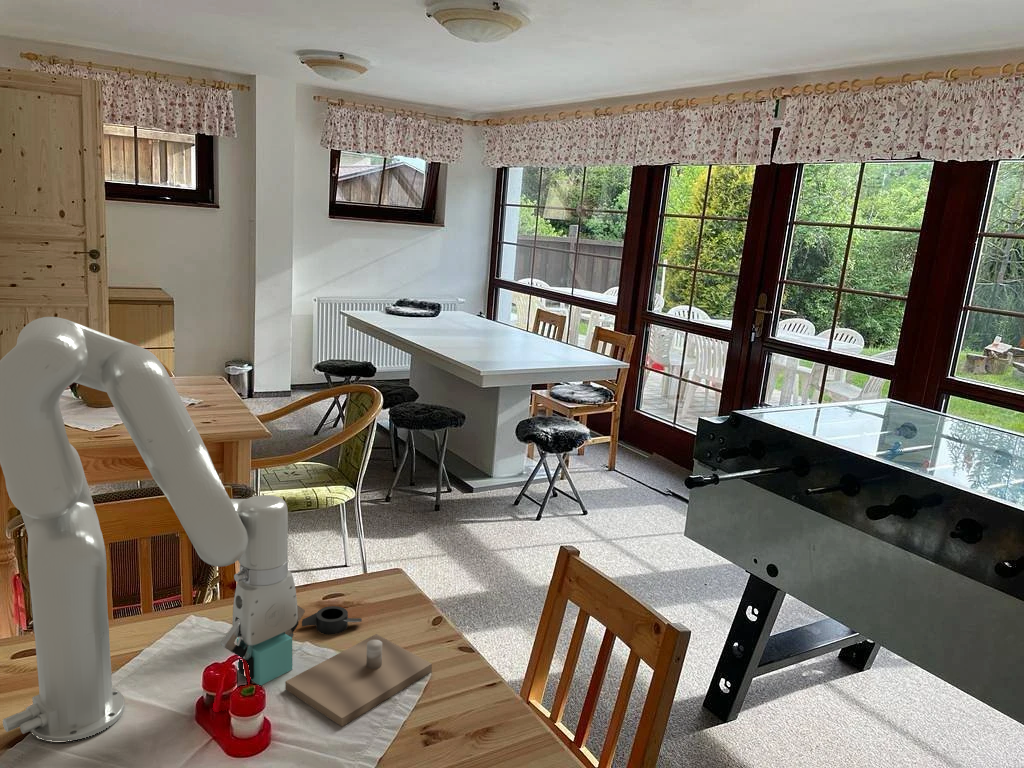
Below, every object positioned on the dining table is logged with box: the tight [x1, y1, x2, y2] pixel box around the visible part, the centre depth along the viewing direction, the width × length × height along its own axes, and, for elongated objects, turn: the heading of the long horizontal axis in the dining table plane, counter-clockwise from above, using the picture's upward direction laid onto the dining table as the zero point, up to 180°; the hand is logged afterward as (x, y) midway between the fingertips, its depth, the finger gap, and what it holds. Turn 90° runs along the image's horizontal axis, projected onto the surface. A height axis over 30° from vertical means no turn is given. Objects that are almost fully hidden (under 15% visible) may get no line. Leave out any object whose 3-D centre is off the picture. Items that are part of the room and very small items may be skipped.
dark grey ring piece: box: [301, 605, 362, 636], centre depth 147 cm, size 8×10×3 cm
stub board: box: [284, 633, 433, 727], centre depth 131 cm, size 20×14×6 cm
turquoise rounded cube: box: [236, 633, 293, 686], centre depth 132 cm, size 6×6×6 cm
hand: (265, 666), depth 132 cm, fingers closed on turquoise rounded cube, 6 cm apart
